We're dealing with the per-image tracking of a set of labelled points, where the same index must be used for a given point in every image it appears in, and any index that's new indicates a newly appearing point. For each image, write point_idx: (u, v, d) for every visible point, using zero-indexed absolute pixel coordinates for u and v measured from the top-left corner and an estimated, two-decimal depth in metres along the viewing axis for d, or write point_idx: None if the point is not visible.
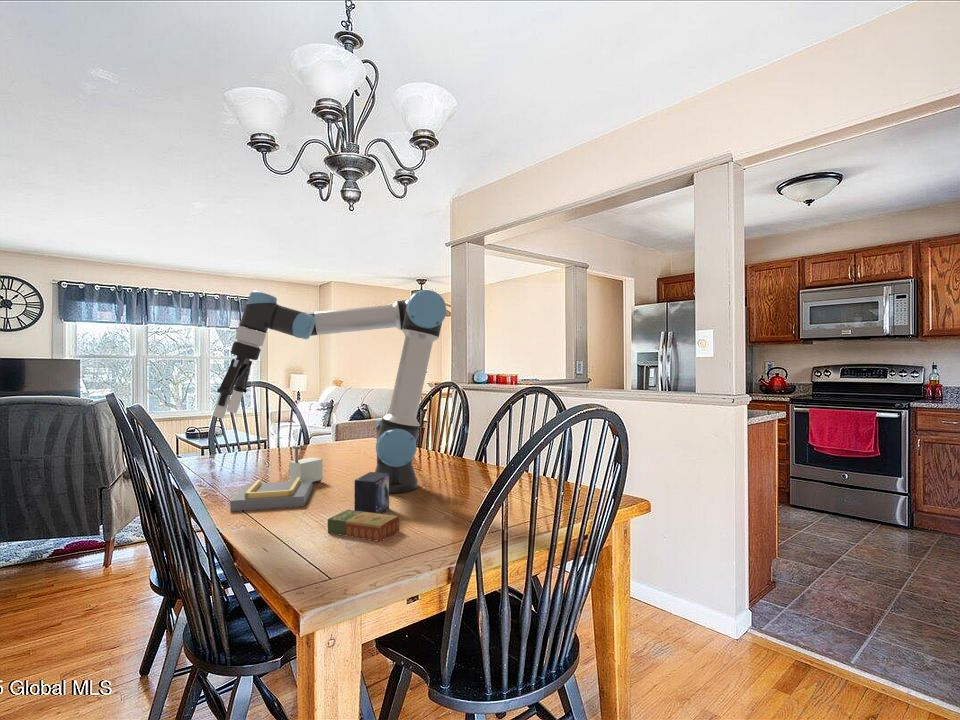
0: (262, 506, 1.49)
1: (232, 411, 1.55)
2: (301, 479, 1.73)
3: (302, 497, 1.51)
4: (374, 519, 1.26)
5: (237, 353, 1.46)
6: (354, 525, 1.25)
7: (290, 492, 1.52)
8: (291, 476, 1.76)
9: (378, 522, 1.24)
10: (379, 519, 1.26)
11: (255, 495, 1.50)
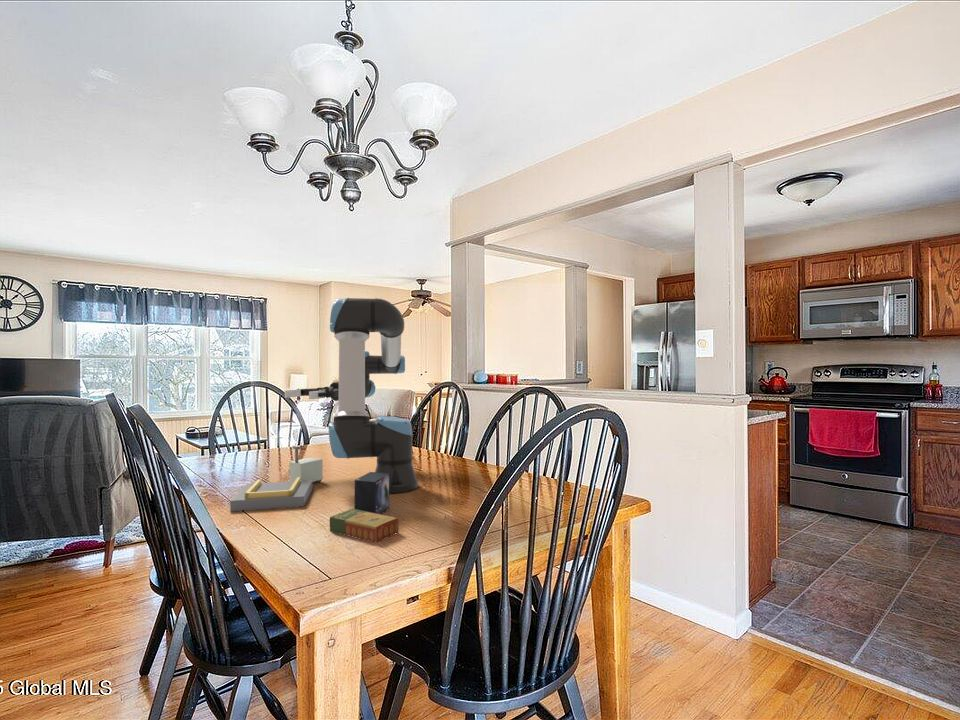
0: (262, 506, 1.49)
1: None
2: (301, 479, 1.73)
3: (302, 497, 1.51)
4: (372, 520, 1.26)
5: None
6: (352, 525, 1.25)
7: (290, 492, 1.52)
8: (291, 476, 1.76)
9: (375, 523, 1.24)
10: (376, 520, 1.26)
11: (255, 495, 1.50)
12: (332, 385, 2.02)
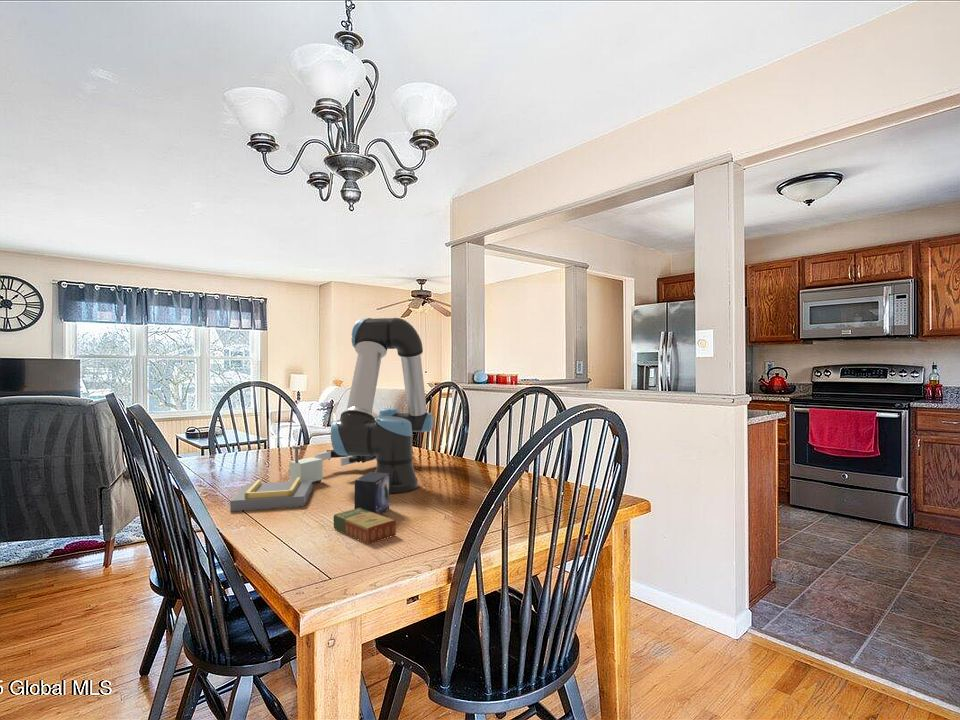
0: (262, 506, 1.49)
1: None
2: (301, 479, 1.73)
3: (302, 497, 1.51)
4: (369, 520, 1.25)
5: None
6: (350, 524, 1.26)
7: (290, 492, 1.52)
8: (291, 476, 1.76)
9: (369, 524, 1.23)
10: (372, 521, 1.25)
11: (255, 495, 1.50)
12: None
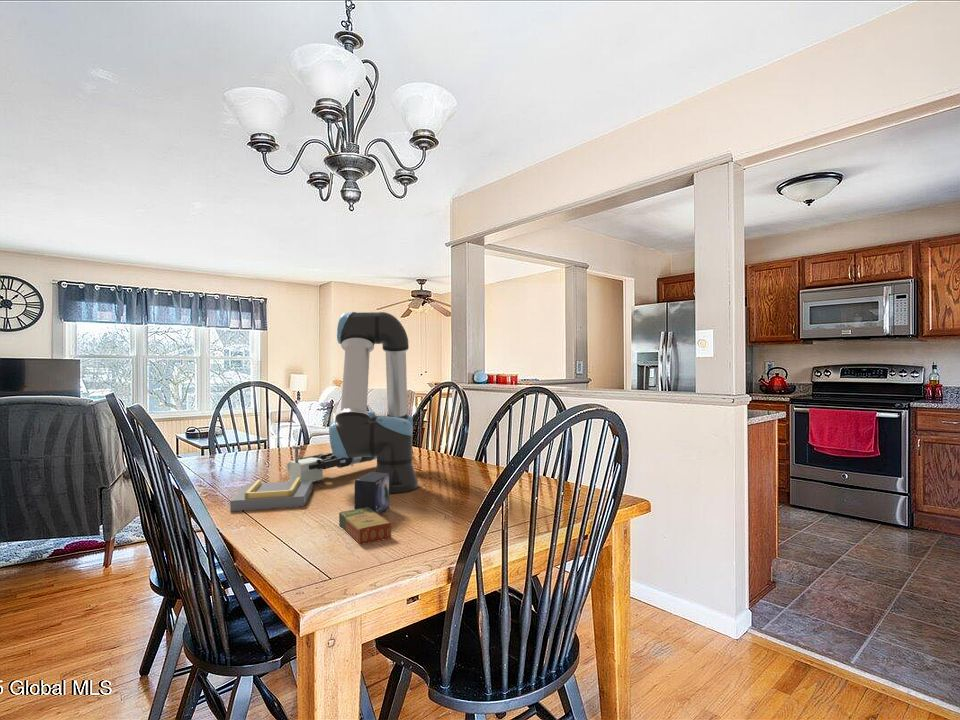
0: (262, 506, 1.49)
1: None
2: (301, 479, 1.73)
3: (302, 497, 1.51)
4: (365, 521, 1.25)
5: None
6: (348, 523, 1.27)
7: (290, 492, 1.52)
8: (291, 476, 1.76)
9: (363, 525, 1.23)
10: (368, 522, 1.24)
11: (255, 495, 1.50)
12: None
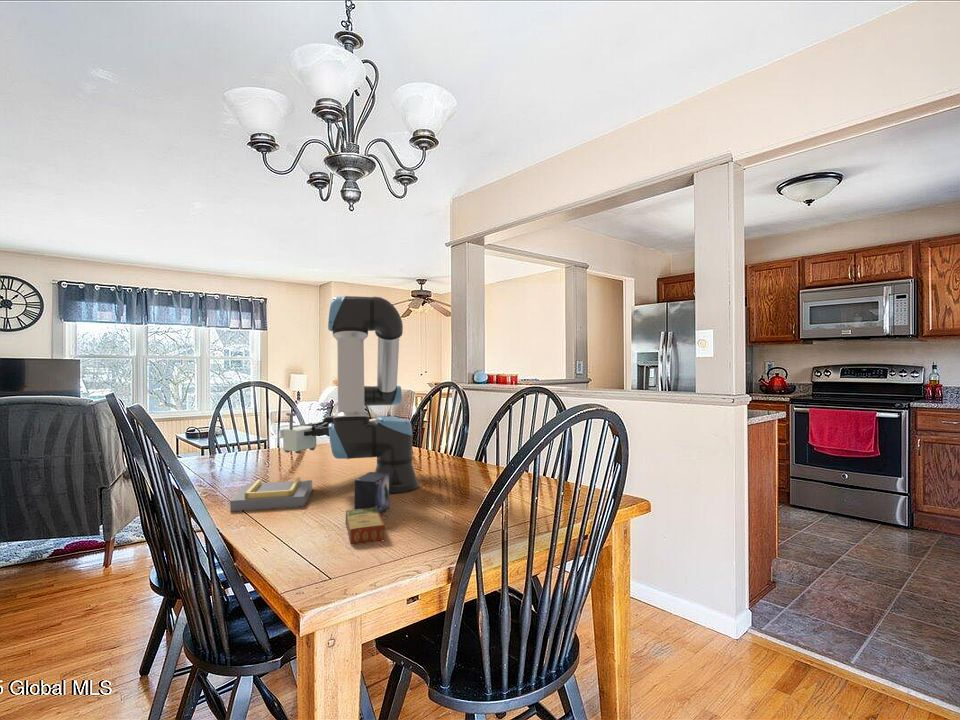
0: (262, 506, 1.49)
1: None
2: (297, 446, 1.71)
3: (302, 497, 1.51)
4: (361, 521, 1.25)
5: None
6: None
7: (290, 492, 1.52)
8: (285, 443, 1.73)
9: (356, 525, 1.22)
10: (363, 523, 1.24)
11: (255, 495, 1.50)
12: (326, 420, 1.89)
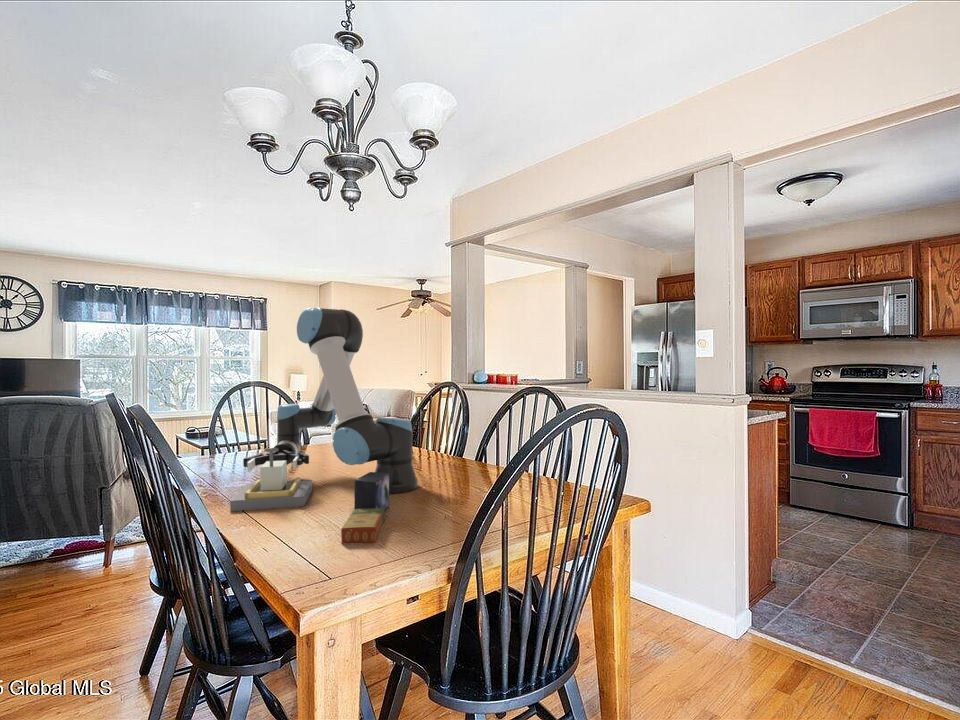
0: (262, 506, 1.49)
1: (293, 464, 1.57)
2: (281, 483, 1.55)
3: (302, 497, 1.51)
4: (356, 521, 1.25)
5: None
6: None
7: (290, 492, 1.52)
8: (264, 483, 1.54)
9: (350, 525, 1.23)
10: (357, 523, 1.24)
11: (255, 495, 1.50)
12: (278, 448, 1.72)
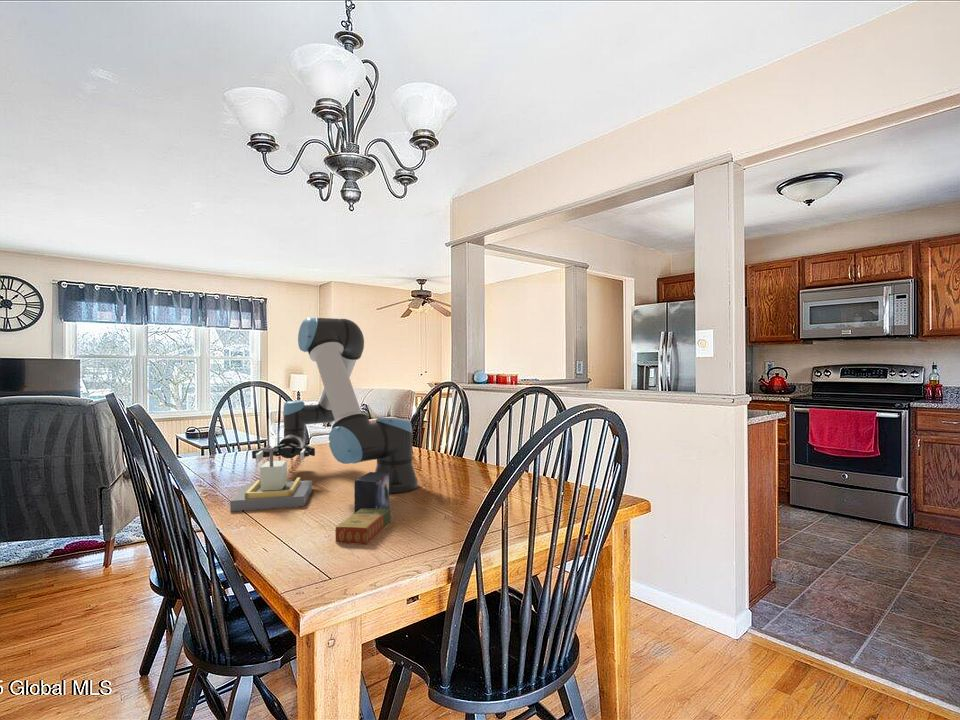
0: (262, 506, 1.49)
1: None
2: (281, 483, 1.55)
3: (302, 497, 1.51)
4: (353, 521, 1.25)
5: None
6: None
7: (290, 492, 1.52)
8: (264, 483, 1.54)
9: (345, 524, 1.23)
10: (353, 523, 1.24)
11: (255, 495, 1.50)
12: (285, 441, 1.85)
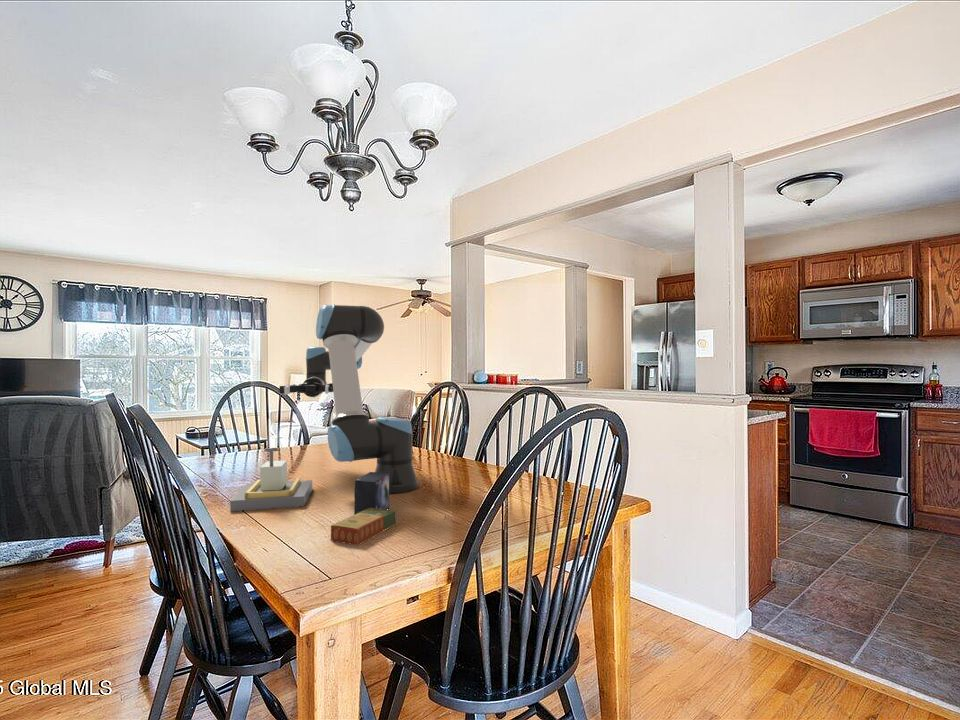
0: (262, 506, 1.49)
1: (325, 389, 1.82)
2: (281, 483, 1.55)
3: (302, 497, 1.51)
4: (350, 520, 1.26)
5: None
6: None
7: (290, 492, 1.52)
8: (264, 483, 1.54)
9: (341, 523, 1.24)
10: (348, 522, 1.24)
11: (255, 495, 1.50)
12: (308, 381, 1.97)
